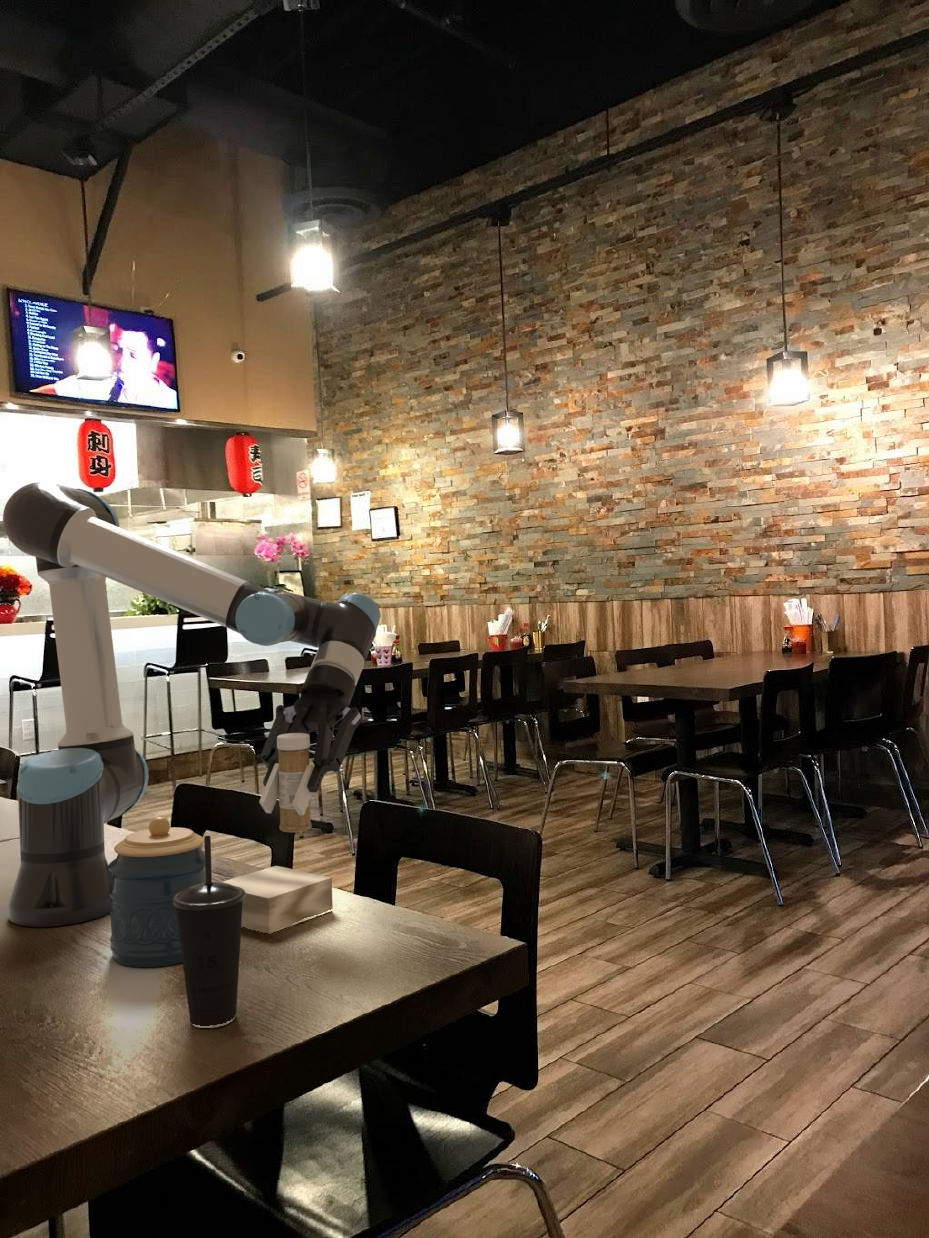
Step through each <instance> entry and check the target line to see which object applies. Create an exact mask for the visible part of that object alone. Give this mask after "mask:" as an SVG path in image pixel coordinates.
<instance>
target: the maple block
mask: <svg viewBox="0 0 929 1238" xmlns="http://www.w3.org/2000/svg"><path fill="white" fill-rule="evenodd" d="M222 882H224V883H228V884H231V885H233V886H237V887H240V888H242V889H244V890H245V898H244V899H243V905H242V923H241V928H243V927H245V928H244V929H246V928H247V930H250V929H251V930H250V931H253V930H256V931H255V932H257V931H260V932H259V933H261V932H264V933H268V934H270V933H273V932H274V931H276V930H278V929H281V928H283V927H287V926H290V925H292V924H293V923H295V922H298V921H300V920H302V919H304V918H307V917H311V916H314V915H318V914H321V913H323V912H326V911H328V910H331V909H333V908H334V907H333V906H334V905H333V878H332V877H331V876H327V875H322V874H317V873H311V872H307V871H303V870H298V869H293V868H290V867H289V868H288V867H285V866H279V865H274V866H270V867H268V868H265V869H263V868H262V869H261V870H258V871H254V872H251V873H247V874H243V875H241V876H237V877H234V878H230V879H227V880H224V881H222ZM264 933H263V934H264ZM268 934H267V935H268ZM273 934H274V933H273Z"/></svg>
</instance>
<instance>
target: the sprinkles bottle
mask: <svg viewBox="0 0 929 1238" xmlns="http://www.w3.org/2000/svg"><path fill="white" fill-rule="evenodd" d="M287 733H288V732H287ZM310 739H311V738H310V734H309V735H308V734H305V733H288V734H282V735H279V736H278V737H277V749H279V750H278V752H279V795H278V799H279V800H278V802H279V803H278V804H279V805H278V806H279V820H280V821H279V823H280V824H279V830H280V831H282V832H284V833H285V832H286V833H301V832H306V831H308V830H310V829H312V827H313V825H312V822H311V820H312V819H311V818H312V817H311V805H312V803H311V801H312V799H311V798H312V797H311V798H310V800H309V803H308V806H307V808H306V811H305V814H304V815H299V814H298V813H297V811H296V810H295V808H294V807H293V805H292V803H293V800H294V798H295V795H296V793H297V790H298V787H299V785H300V782H301V780H302V777H303V774H304V772H305V769H306V767H307V765H310V747H311V740H310Z"/></svg>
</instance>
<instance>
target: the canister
mask: <svg viewBox="0 0 929 1238" xmlns="http://www.w3.org/2000/svg"><path fill="white" fill-rule="evenodd" d="M170 825H171V824H170V821H169V820H168V818H167V817H166V816H156V817H154V818H152V819H151V820H150V822H149V825H148V829H143V830H138V831H135V832H132V833H129V834H128V835H126V836H125V838H124V839H123V840H121V841H120V842H118V843H117V844H115V845H114V848H113V850H114V853H116V854H117V856H116V858H115V859H113V860H112V861H111V862H109V863H108V871H109V872H110V873H111V874H112V875H113V882H112V888H111V889H110V890H109V897H110V906H111V912H110V925H111V926H110V927H111V928H110V929H111V930H110V931H111V932H110V933H111V934H110V938H109V942H110V951H111V952H112V953H111V954H112V959H113V960H114V961H115V962H116V963H117V964H118V963H119V964H120V965H123V966H127V967H134V968H159V967H166V966H173V965H178V964H183V961H182V953H181V945H180V937H179V929H178V921H177V914H176V907H175V906H174V905H173V901H172V899H173V897H174V896H175V895H176V894H178V893H180V892H182V891H184V890H186V889H187V888H189V887H191V886H193V885H196V884H200V883H204V882H206V879H205V849H203V847H202V846H203V845H204V837H203V836H201V835H199V834H197V833H195V832H194V831H193V830H192V829H190V828H186V827H175V826H174V827H172V826H170ZM212 859H213V857H212V856H211V861H212Z"/></svg>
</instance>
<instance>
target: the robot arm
mask: <svg viewBox="0 0 929 1238" xmlns="http://www.w3.org/2000/svg"><path fill="white" fill-rule="evenodd" d="M2 525H3V529H4V532H5V534H6V536H7V538H8V540H9V541H10V543H12V544H13V546H14V547H16V548H17V549H18V550H19V551H21V552H23V553H24V554H27V555H29V556H31V557H34V558H35V562H36V563H35V564H36V570H37V575H38V576H39V577H40V578H41V579H43V581H44V582H46V583H47V584H48V586H49V587H48V588H49V595H50V603H51V612H52V620H53V629H54V637H55V645H56V653H57V662H58V671H59V678H60V687H61V688H60V689H61V695H62V703H63V712H64V719H65V728H66V730H65V733H64V735H63V736H62V737H61V738H60V739H59V740H58V742H57V748H58V749H55V750H51V751H50V752H43V753H39V754H36V755H33V756H31V757H29V758H28V759H25V760H24V762H23V763H21V764H20V767H19V769H18V774H17V775H18V777H17V778H18V780H17V785H16V794H17V799H18V800H17V802H18V806H17V807H18V826H19V828H18V829H19V849H20V850H19V851H20V854H19V855H20V867H19V870H18V873H17V876H16V880H15V882H14V886H13V888H12V892H11V895H10V899H9V902H8V903H9V904H8V913H9V914H8V918H9V921H10V922H12V923H13V924H15V925H18V926H22V927H23V926H24V927H32V928H33V927H34V928H36V927H37V928H40V927H41V928H45V927H46V928H47V927H60V926H68V925H73V924H79V923H83V922H87V921H91V920H94V919H98V918H101V917H103V916H106V915H108V914H111V906H110V897H109V890H110V889H111V888H112V882H113V875H112V874H111V873H110V872H109V871H108V865H109V863H108V860H107V857H106V853H105V851H106V850H105V847H106V846H105V825H104V824H106V823H108V822H110V821H112V820H113V819H117V818H119V817H121V816H124V815H125V814H126V813H128V812H129V811H131V810H132V808H134V807H135V806H136V805H137V804H138V803H139V802H140V801H141V799H142V798H143V797H144V794H145V792H146V790H147V787H148V783H149V767H148V765H147V761H146V759H145V758H144V756H143V754H142V753H141V752H139V751H138V750H137V749H136V744H135V737H134V732H133V731H132V730H131V729H129V728H128V727H127V726H125V725H124V723H123V717H122V710H121V702H120V692H119V684H118V676H117V667H116V658H115V650H114V641H113V633H112V624H111V616H110V608H109V600H108V591H107V583H106V581H107V579H110V580H112V581H115V582H116V583H119V584H122V585H124V586H126V587H128V588H131V589H134V590H136V591H139V592H141V593H143V594H145V595H148V596H151V597H153V598H155V599H158V600H160V601H162V602H165V603H167V604H170V605H172V606H175V607H177V608H179V609H182V610H183V611H187V612H189V613H191V614H194V615H195V616H197V617H198V616H199V617H201V618H202V619H206V620H209V621H210V622H212V623H214V624H218V625H220V626H222V627H224V628H227V629H229V630H231V631H232V632H235V633H237V634H240V636H242V637H243V638H244V640H246V641H248V642H250V643H252V644H255V645H259V646H264V647H269V646H274V645H277V644H279V643H284V642H286V643H287V642H292V643H295V644H296V643H297V644H301V645H306V646H310V647H315V648H317V651H316V653H315V656H314V658H313V661H312V663H311V665H310V668H309V671H308V673H307V675H306V677H305V679H304V680H305V681H304V682H303V685H302V688H301V694H300V696H299V698H298V699H297V700H296V701H295V702H294V705H291V706H287V707H284V705H283V704H279V705H277V706H276V707H275V717H274V718H275V719H274V721H273V724H272V726H271V728H270V730H269V734H268V735H267V738H266V740H265V744H264V746H263V748H262V750H261V754H260V755H259V757H260V759H261V761H262V762H263V764H264V766H265V767H266V768H267V771H266V774H264V775H265V776H264V778H263V781H262V785H263V786H264V789H263V791H262V794H261V797H260V799H259V802H258V803H259V804H260V806H261V807H262V809H263V810H264V812H265V813H266V814H272V812H273V810H274V807H275V805H276V802H277V800H278V799H279V752H278V750H279V749H277V737H278V736H279V735H282V734H288V733H305V734H308V735H309V736H310V734H311V733H312V732H313V731H317V732H316V733H317V735H316V742H315V749H314V755H313V756H314V757H313V758H312V759H311V761H312V763H313V764H309V765H307V767H306V769H305V772H304V774H303V777H302V780H301V782H300V785H299V787H298V790H297V793H296V795H295V798H294V800H293V803H292V805H293V807H294V808H295V810H296V811H297V813H298V814H299V815H304V814H305V811H306V808H307V806H308V803H309V800H310V798H312V795H313V793H318V791H319V790H320V786H321V784H322V782H323V780H324V776H325V775H326V774H328V772H334V773H337V772H339V771H340V769H341V767H342V765H343V762H344V759H345V756H346V754H347V752H348V748H349V745H350V743H351V741H352V739H353V738H352V737H353V736H354V733H355V731H356V729H357V728H358V727H359V725H361V723H362V722H363V718H362V716H361V715H362V714H360V712H359V710H358V708H357V707H355V706H353V707H351V708H350V707H349V705H350V704H351V701H352V698H353V696H354V693H355V690H356V686H357V684H358V681H359V679H360V677H361V673H362V671H363V669H364V665H365V664H366V659H367V657H368V655H369V652H370V649H371V647H372V645H373V642H374V640H375V639H376V636H377V630H378V627H379V625H380V619H381V617H382V616H381V610H380V608H379V606H378V603H376V601H374V599H372V598H371V597H370V596H367V595H365V594H363V593H361V592H360V593H359V592H352V593H344V594H343V595H341V596H340V598H338V600H337V601H336V602H330V601H325V600H319V599H316V598H312V597H308V596H305V595H300V594H297V593H293V592H290V591H287V590H285V589H278V588H277V589H276V588H271V587H265V588H264V587H262V586H260V585H257V584H255V583H251V582H249V581H247V580H245V579H243V578H240V577H238V576H235V575H233V574H231V573H229V572H226V571H224V570H221V569H219V568H216V567H213V566H212V565H209V564H206V563H204V562H202V561H200V560H198V559H195V558H193V557H190V556H188V555H185V554H183V553H181V552H178V551H176V550H173V549H172V548H169V547H166V546H164V545H161V544H159V543H158V542H154V541H153V540H150V539H147V538H145V537H143V536H140V535H138V534H135V533H133V532H132V531H131V532H130V531H128V530H126V529H124V528H121V527H120V522H119V519H118V516H117V514H116V511H115V510H114V509H113V507H112V505H110V504H109V503H108V501H106V500H105V499H104V498H102V497H101V496H99V495H96V494H95V493H93V492H91V491H89V490H85V489H82V488H73V487H70V486H69V487H68V486H66V485H62V484H56V483H55V482H49V481H37V482H32V483H28V484H26V485H24V486H21V487H20V488H18V489H17V490H16V491H14V492H13V493H12V495H11V496H10V497H9V498H8V500H7V501H6V503H5V505H4V509H3V513H2ZM294 716H295V717H294ZM293 718H294V719H293ZM339 721H341V722H340V723H339V726H338V728H337V732H336V734H335V736H334V732H335V731H334V730H335V725H336V724H338V722H339ZM291 723H292V726H291V727H290V724H291ZM333 737H334V739H333V741H332V738H333ZM313 765H314V766H313Z"/></svg>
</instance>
